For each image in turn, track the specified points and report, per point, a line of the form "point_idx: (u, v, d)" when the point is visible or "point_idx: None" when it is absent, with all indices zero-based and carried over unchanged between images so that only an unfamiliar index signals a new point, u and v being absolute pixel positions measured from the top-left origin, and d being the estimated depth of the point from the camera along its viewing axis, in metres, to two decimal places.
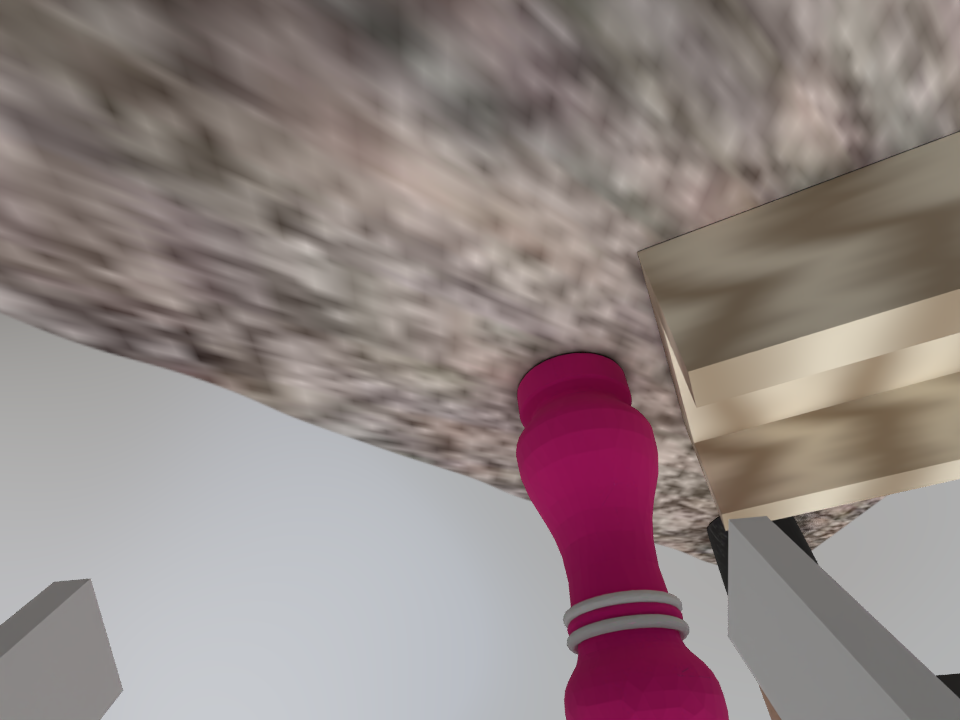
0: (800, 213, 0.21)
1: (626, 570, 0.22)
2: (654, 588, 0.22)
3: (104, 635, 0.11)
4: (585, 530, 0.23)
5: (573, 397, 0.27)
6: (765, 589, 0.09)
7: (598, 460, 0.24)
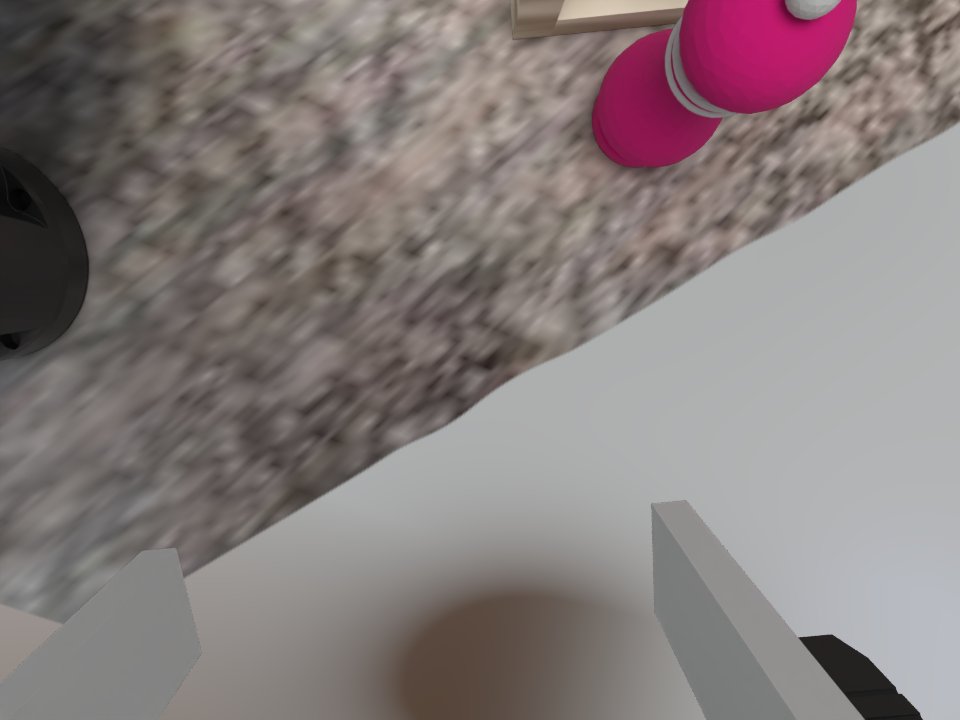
0: None
1: None
2: None
3: (186, 600, 0.12)
4: (651, 90, 0.27)
5: None
6: (675, 565, 0.10)
7: (620, 78, 0.29)
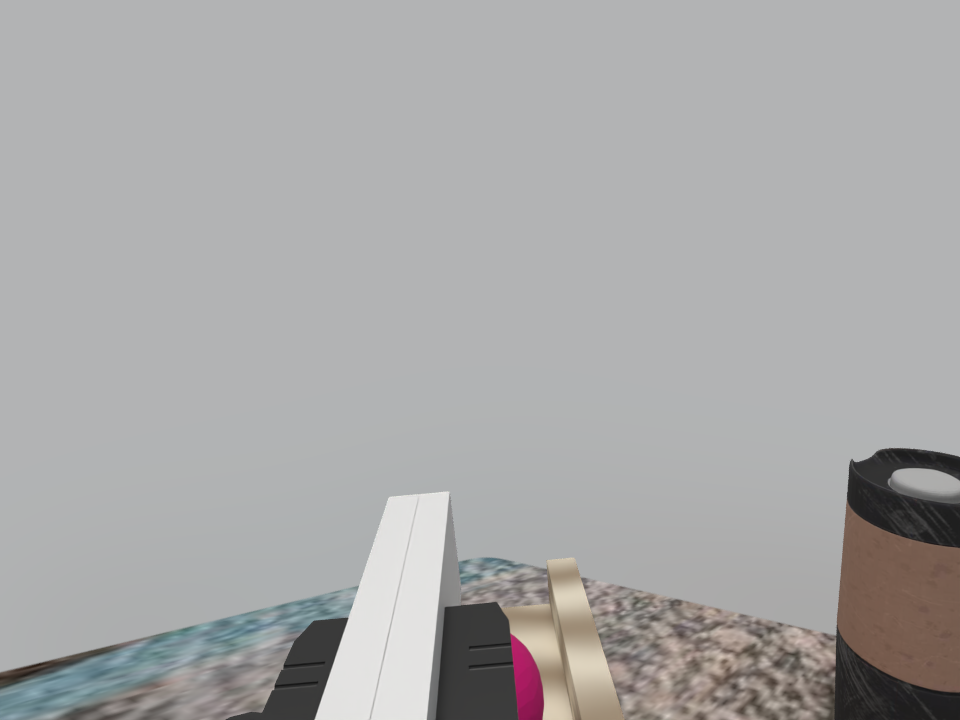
0: None
1: None
2: None
3: None
4: None
5: None
6: None
7: None
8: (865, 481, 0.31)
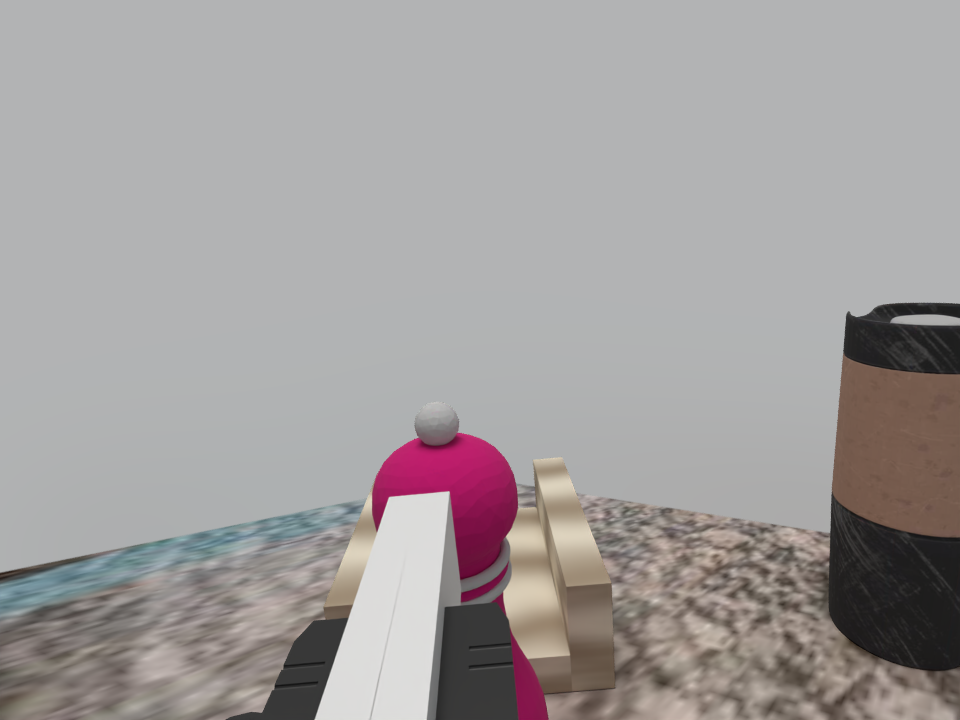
0: None
1: None
2: None
3: None
4: None
5: None
6: None
7: None
8: (862, 321, 0.29)
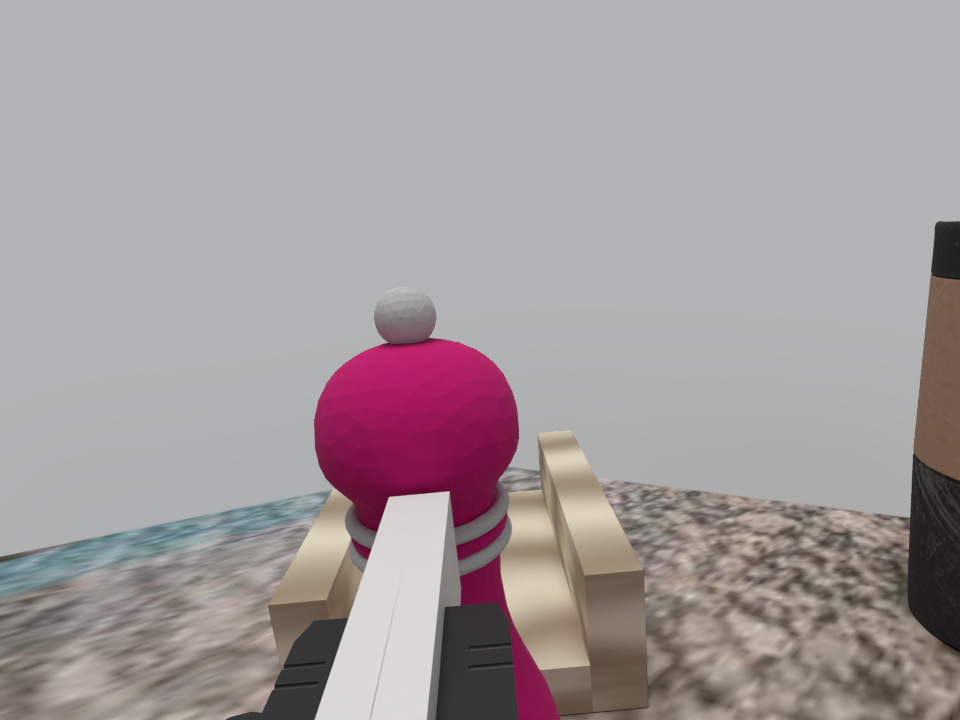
0: None
1: None
2: None
3: None
4: None
5: None
6: None
7: None
8: None
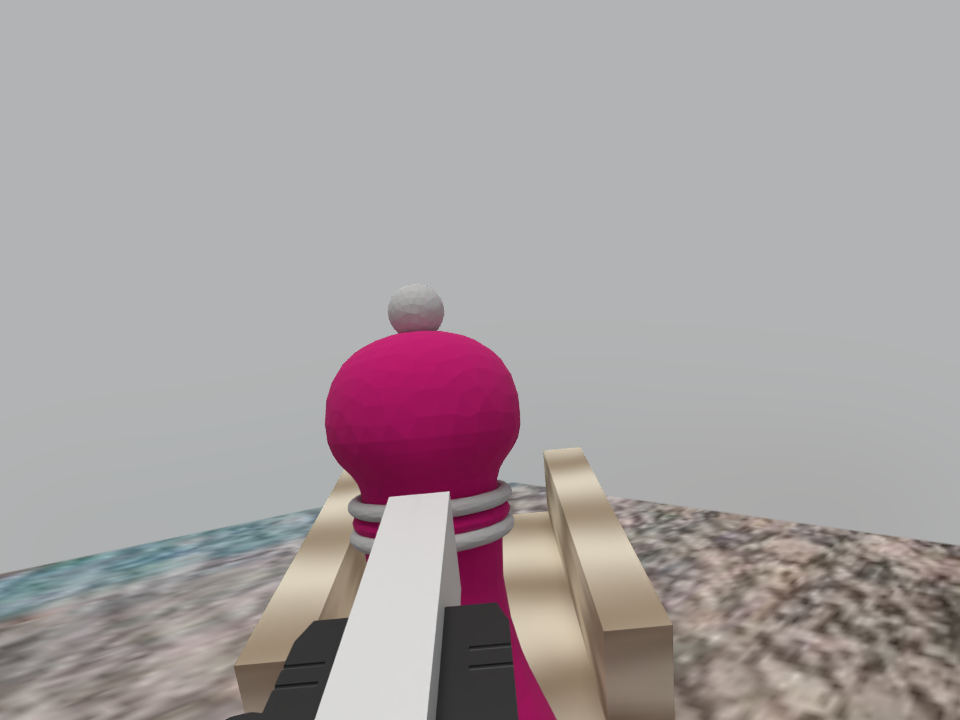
0: None
1: None
2: None
3: None
4: None
5: None
6: None
7: None
8: None
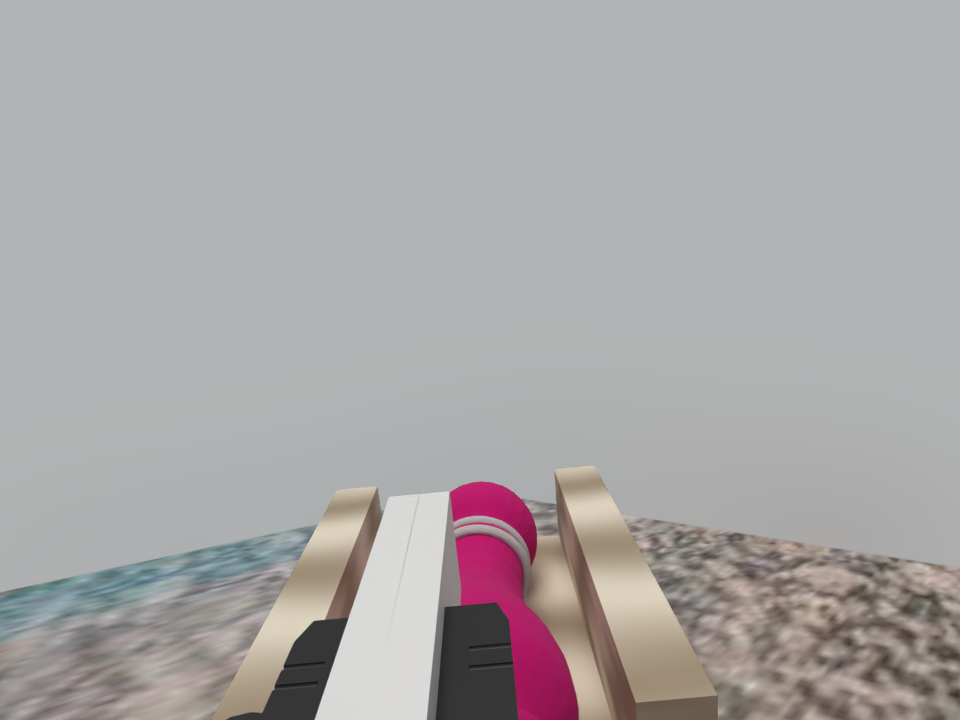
0: None
1: None
2: None
3: None
4: None
5: None
6: None
7: None
8: None
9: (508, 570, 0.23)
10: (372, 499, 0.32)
